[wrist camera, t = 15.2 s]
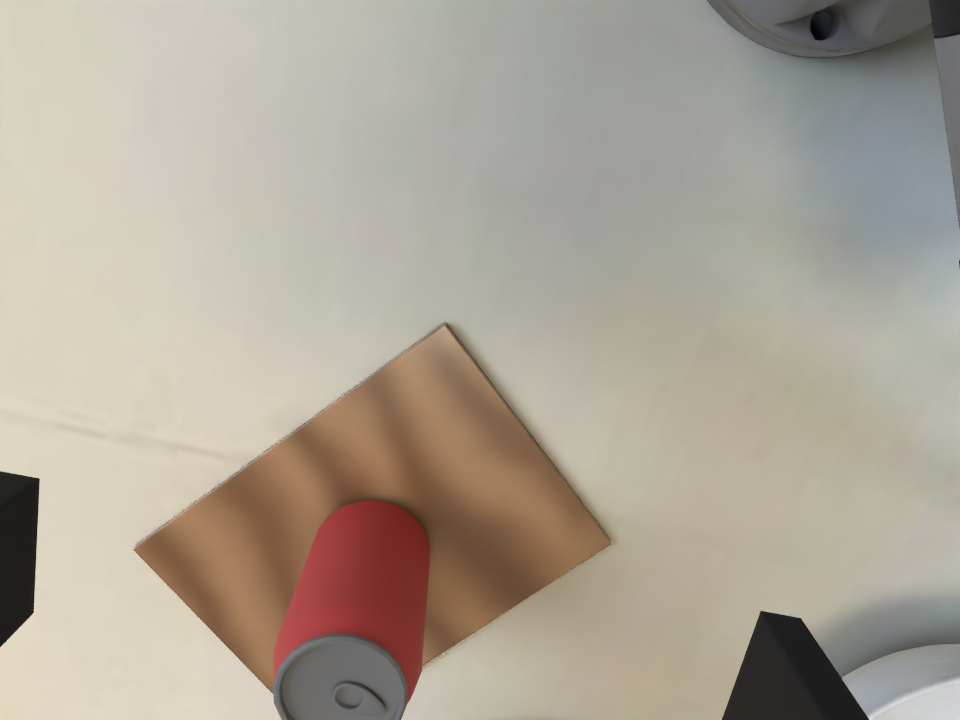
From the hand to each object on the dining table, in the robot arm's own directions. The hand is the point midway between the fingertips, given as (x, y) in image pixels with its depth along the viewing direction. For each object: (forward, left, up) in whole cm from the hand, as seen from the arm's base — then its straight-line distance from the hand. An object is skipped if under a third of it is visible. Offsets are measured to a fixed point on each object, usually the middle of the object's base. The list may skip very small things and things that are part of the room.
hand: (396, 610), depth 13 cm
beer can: (+11, +9, -26) cm, 30 cm away
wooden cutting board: (+11, +9, -27) cm, 30 cm away
